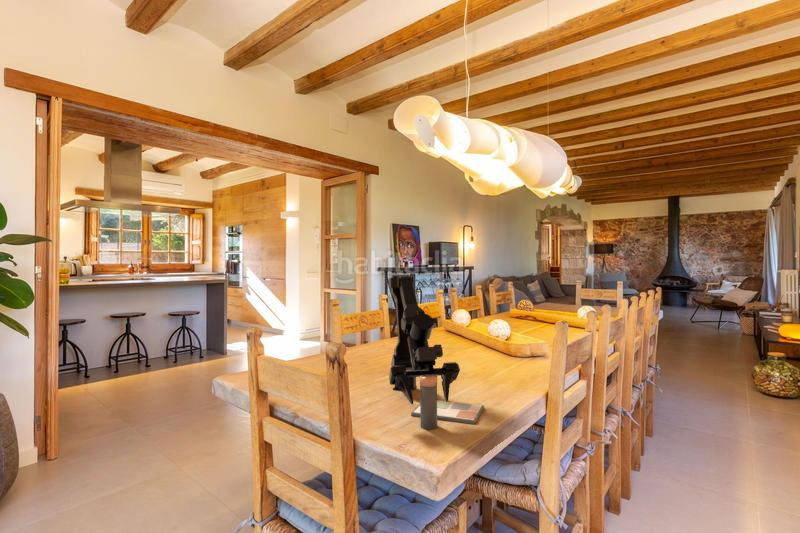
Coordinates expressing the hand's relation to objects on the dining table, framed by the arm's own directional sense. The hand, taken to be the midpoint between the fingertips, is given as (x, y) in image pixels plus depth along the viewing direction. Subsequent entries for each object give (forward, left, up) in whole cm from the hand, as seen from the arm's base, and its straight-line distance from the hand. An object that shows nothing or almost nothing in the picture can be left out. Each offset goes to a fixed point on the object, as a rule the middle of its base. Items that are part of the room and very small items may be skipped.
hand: (429, 402), depth 107 cm
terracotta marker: (-1, +1, -7) cm, 7 cm away
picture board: (+1, +13, -7) cm, 15 cm away
